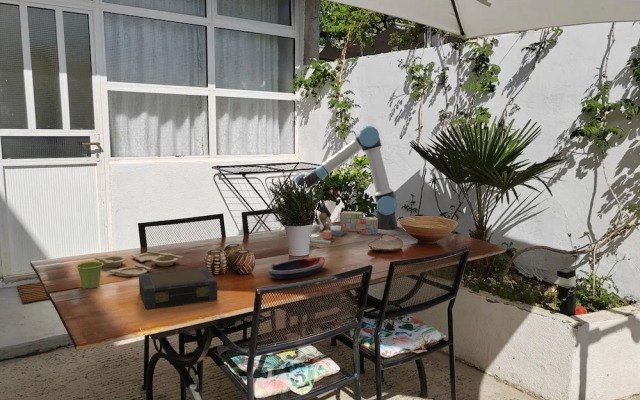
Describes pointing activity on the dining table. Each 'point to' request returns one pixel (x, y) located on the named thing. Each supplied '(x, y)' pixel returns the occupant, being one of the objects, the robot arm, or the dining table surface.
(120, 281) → the dining table surface
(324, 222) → the pawn
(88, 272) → the plant pot
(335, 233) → the board
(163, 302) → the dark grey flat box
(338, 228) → the dome
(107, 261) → the tableware set
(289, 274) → the dish
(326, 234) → the die
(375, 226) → the stack of blocks
